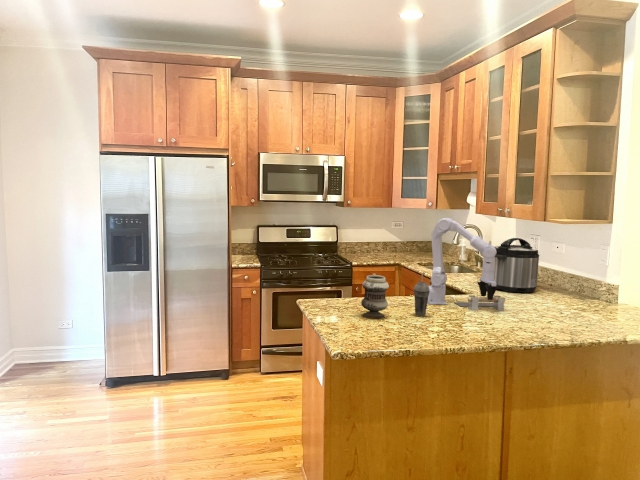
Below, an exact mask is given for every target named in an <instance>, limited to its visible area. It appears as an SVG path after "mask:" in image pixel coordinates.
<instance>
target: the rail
mask: <svg viewBox="0 0 640 480" xmlns="http://www.w3.org/2000/svg"><path fill="white" fill-rule="evenodd" d="M478 297H479V303H494V302H498V298H504V303H505V302H506V298H505V297H494V296H493V299H492V300H488V298H487V296H478ZM467 302H472V297H469V296H467Z"/></svg>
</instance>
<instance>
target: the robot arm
mask: <svg viewBox="0 0 640 480" xmlns="http://www.w3.org/2000/svg"><path fill="white" fill-rule="evenodd" d="M448 231H450V232H457V233H458V234H459V235H460V236H462V237H463V238H465V239H466V240H468V241H469V244H470V246H471V247H472V248H474V250H476V251H478V252H479V253H481V254H482V256H483V257H482V258H483V261H482V266H481V267H482V271H481V276H479V280H478V281H477V285H478V287H479V292H480V297H487V298H488V300H492V299H493V297H494V296H495V293H496V291H497V290H498V289H497V288H498V286H496V282H495V281H496V280H495V279H494V272H495V257H494V256H495V255H496V249H495V248H494V247H495V246H493V245H491V243H488V242H487V241H486V240H484V238H483V237H482V236H478V235H473V234H472V233H471V232H470V231H469V230H467V229H466V228H465V227H464V226H463V225H461V224H460V223H458V221H455V220H453V219H452V218H451V217H443V218H440V219H439V220H438V221H436V223H435V226H434V227H433V229H432V232H431V251H432V253H431V254H432V272H431V277H430V282H431V284H430V285H428V286H429V291H430V292H429V296H428V301H427V304H429V305H448V302H446V288H447V287H446V282H447V280H448V277H447V274H446V269H445V266H444V258H443V257H444V255H443V239H442V237H443V236H444V235H445V234H446V233H447V232H448Z"/></svg>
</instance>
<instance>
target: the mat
mask: <svg viewBox="0 0 640 480" xmlns="http://www.w3.org/2000/svg"><path fill="white" fill-rule="evenodd" d="M453 303H454V304H455V305H457V306H458V307H460V308H468V301H465V302H464V301H462V302H460V301H457V302H456V301H454V302H453ZM493 303H494V302H479V303H478V308H493Z"/></svg>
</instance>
